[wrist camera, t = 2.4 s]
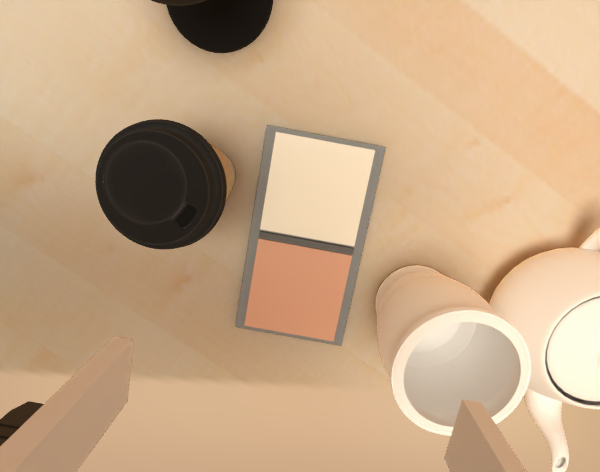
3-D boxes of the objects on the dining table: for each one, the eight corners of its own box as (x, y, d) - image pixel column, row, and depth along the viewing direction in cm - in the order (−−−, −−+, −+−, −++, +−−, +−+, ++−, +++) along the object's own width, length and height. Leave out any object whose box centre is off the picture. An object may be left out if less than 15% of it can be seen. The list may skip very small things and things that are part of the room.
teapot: (510, 190, 42) (589, 208, 30) (654, 221, 42) (790, 250, 30) (443, 399, 47) (487, 485, 35) (571, 425, 48) (658, 519, 36)
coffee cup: (241, 227, 44) (206, 269, 29) (155, 206, 43) (76, 238, 29) (260, 139, 41) (233, 136, 27) (170, 117, 41) (92, 102, 27)
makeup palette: (236, 323, 46) (234, 328, 44) (268, 125, 41) (266, 124, 40) (340, 341, 46) (341, 348, 45) (383, 147, 41) (386, 146, 40)
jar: (420, 360, 46) (470, 460, 32) (346, 313, 45) (363, 392, 31) (480, 288, 44) (563, 358, 30) (404, 236, 43) (452, 282, 29)
